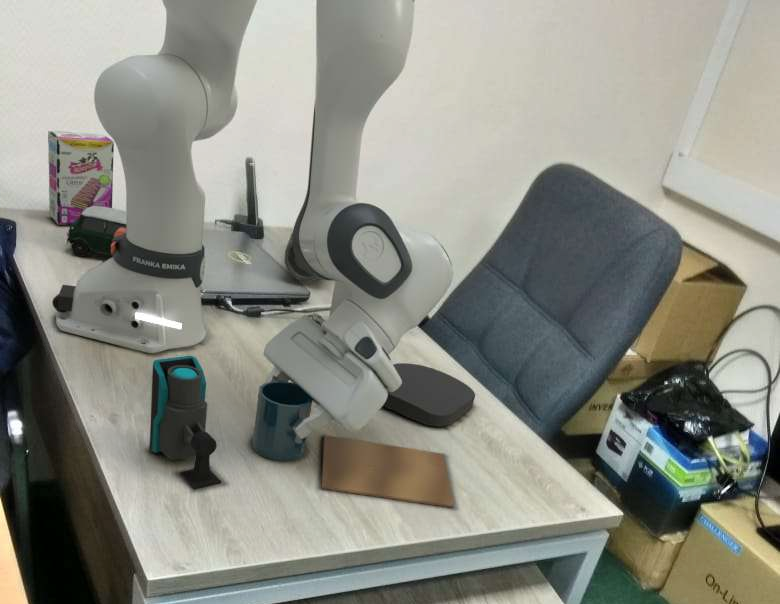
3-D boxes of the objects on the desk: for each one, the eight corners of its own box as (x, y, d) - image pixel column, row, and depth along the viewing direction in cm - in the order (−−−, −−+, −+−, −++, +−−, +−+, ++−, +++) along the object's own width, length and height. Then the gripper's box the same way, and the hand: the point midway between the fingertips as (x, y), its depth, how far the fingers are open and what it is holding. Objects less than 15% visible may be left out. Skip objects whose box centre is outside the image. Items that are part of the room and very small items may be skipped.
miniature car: (161, 274, 148) (163, 230, 144) (62, 253, 147) (61, 208, 142) (173, 259, 156) (176, 217, 151) (79, 239, 154) (79, 196, 150)
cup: (250, 456, 103) (257, 401, 99) (254, 430, 109) (261, 377, 104) (302, 464, 104) (311, 410, 100) (304, 438, 110) (313, 386, 106)
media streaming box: (440, 434, 119) (445, 416, 118) (357, 397, 124) (361, 379, 122) (479, 404, 130) (484, 387, 129) (402, 371, 135) (406, 354, 133)
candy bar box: (58, 226, 158) (56, 137, 149) (49, 218, 161) (46, 129, 151) (113, 226, 165) (114, 140, 156) (103, 217, 167) (103, 133, 158)
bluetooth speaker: (294, 249, 177) (301, 202, 171) (336, 258, 177) (344, 212, 172) (278, 281, 158) (284, 230, 152) (324, 291, 158) (333, 241, 153)
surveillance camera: (193, 399, 88) (150, 360, 93) (186, 491, 94) (147, 449, 100) (238, 392, 91) (194, 354, 97) (228, 481, 98) (188, 441, 103)
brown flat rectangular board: (321, 488, 101) (322, 486, 100) (323, 437, 111) (324, 435, 111) (452, 507, 103) (453, 505, 103) (442, 456, 114) (443, 453, 114)
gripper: (299, 294, 108) (227, 367, 107) (389, 360, 96) (307, 444, 95) (322, 323, 113) (253, 393, 112) (410, 390, 101) (332, 469, 100)
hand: (278, 417), depth 104 cm, fingers open, 7 cm apart
